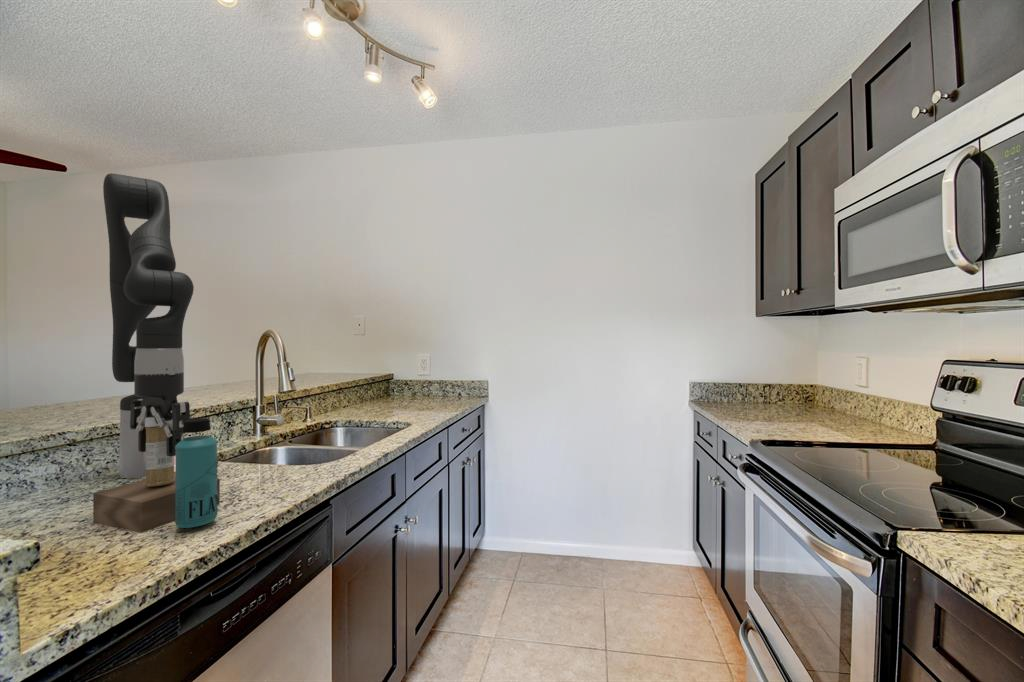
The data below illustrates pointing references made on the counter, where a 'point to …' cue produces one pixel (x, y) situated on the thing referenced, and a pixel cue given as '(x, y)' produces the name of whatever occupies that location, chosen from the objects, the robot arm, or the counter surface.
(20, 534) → the counter surface
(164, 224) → the robot arm
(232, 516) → the counter surface
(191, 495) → the beverage bottle
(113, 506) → the walnut block
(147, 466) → the brown spice jar
